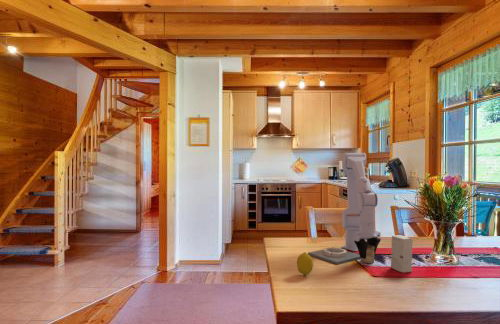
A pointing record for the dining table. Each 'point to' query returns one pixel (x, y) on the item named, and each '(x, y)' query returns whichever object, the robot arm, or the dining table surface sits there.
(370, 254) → the cup
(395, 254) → the skincare box
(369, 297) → the dining table surface
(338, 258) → the collar board
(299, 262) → the lemon
